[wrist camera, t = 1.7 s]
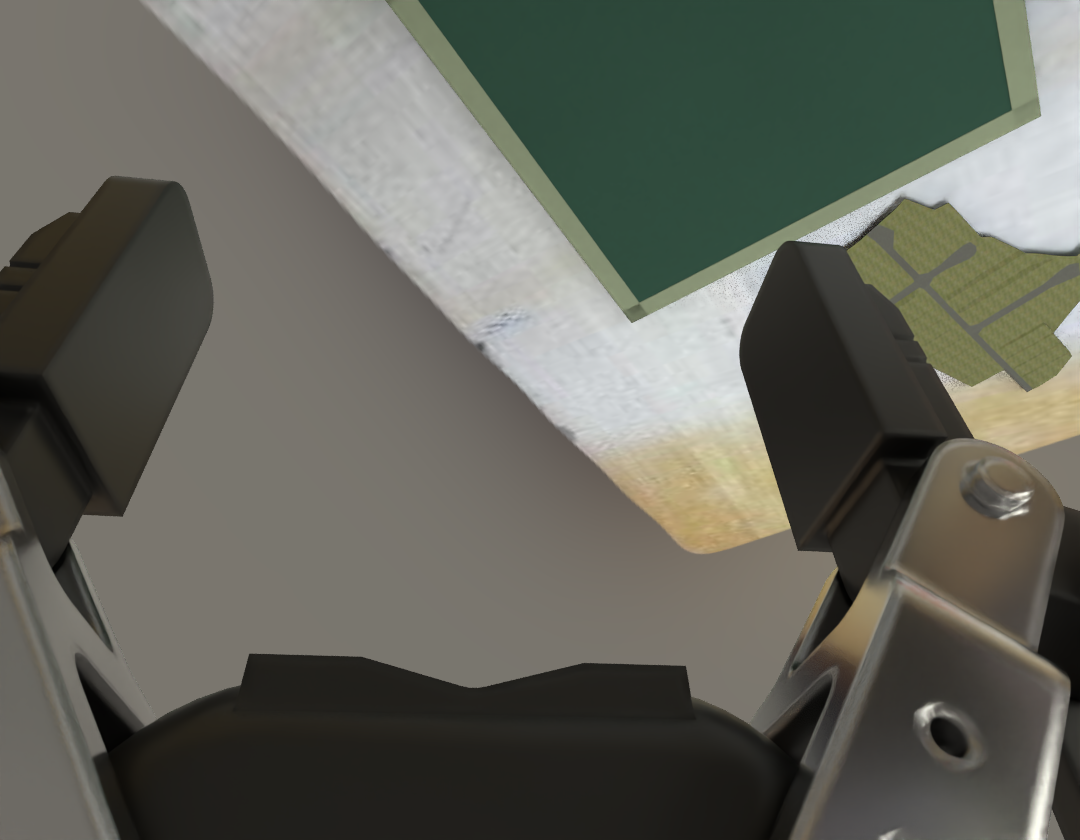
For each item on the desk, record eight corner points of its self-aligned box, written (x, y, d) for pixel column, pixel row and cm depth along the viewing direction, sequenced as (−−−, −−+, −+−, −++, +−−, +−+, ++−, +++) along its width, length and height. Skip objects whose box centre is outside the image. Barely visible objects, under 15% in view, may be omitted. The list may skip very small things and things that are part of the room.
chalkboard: (372, -22, 26) (370, -19, 26) (942, -531, 18) (948, -533, 18) (631, 319, 38) (631, 323, 38) (1037, 112, 30) (1041, 116, 30)
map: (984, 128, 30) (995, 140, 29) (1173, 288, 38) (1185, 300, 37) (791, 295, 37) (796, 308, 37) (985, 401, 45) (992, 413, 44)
